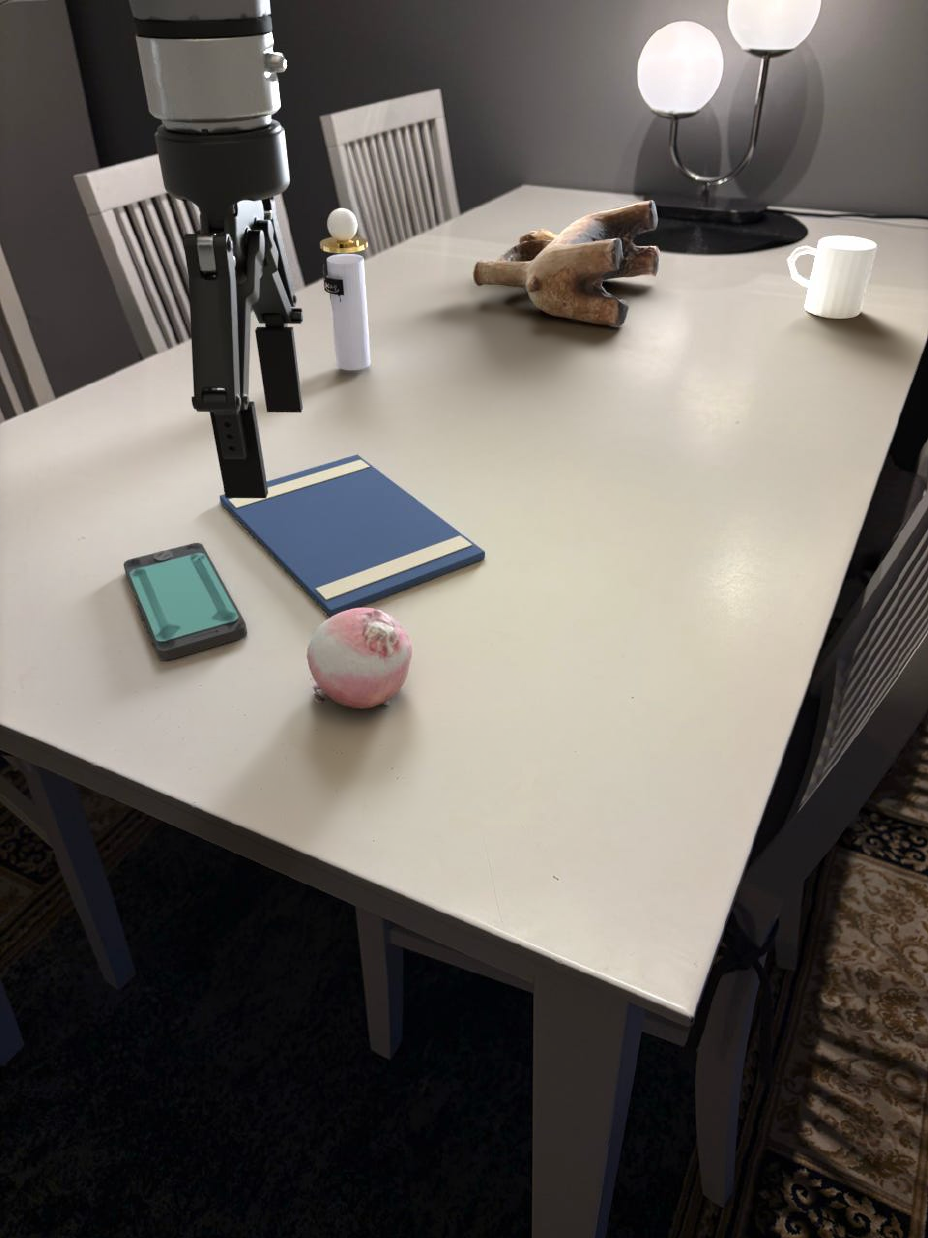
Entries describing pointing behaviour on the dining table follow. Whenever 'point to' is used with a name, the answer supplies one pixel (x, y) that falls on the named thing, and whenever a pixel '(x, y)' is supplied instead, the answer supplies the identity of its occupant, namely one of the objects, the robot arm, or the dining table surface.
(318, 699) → the onion
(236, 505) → the towel
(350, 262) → the perfume bottle
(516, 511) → the dining table surface
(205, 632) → the smartphone
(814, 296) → the mug
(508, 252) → the ceramic vessel
